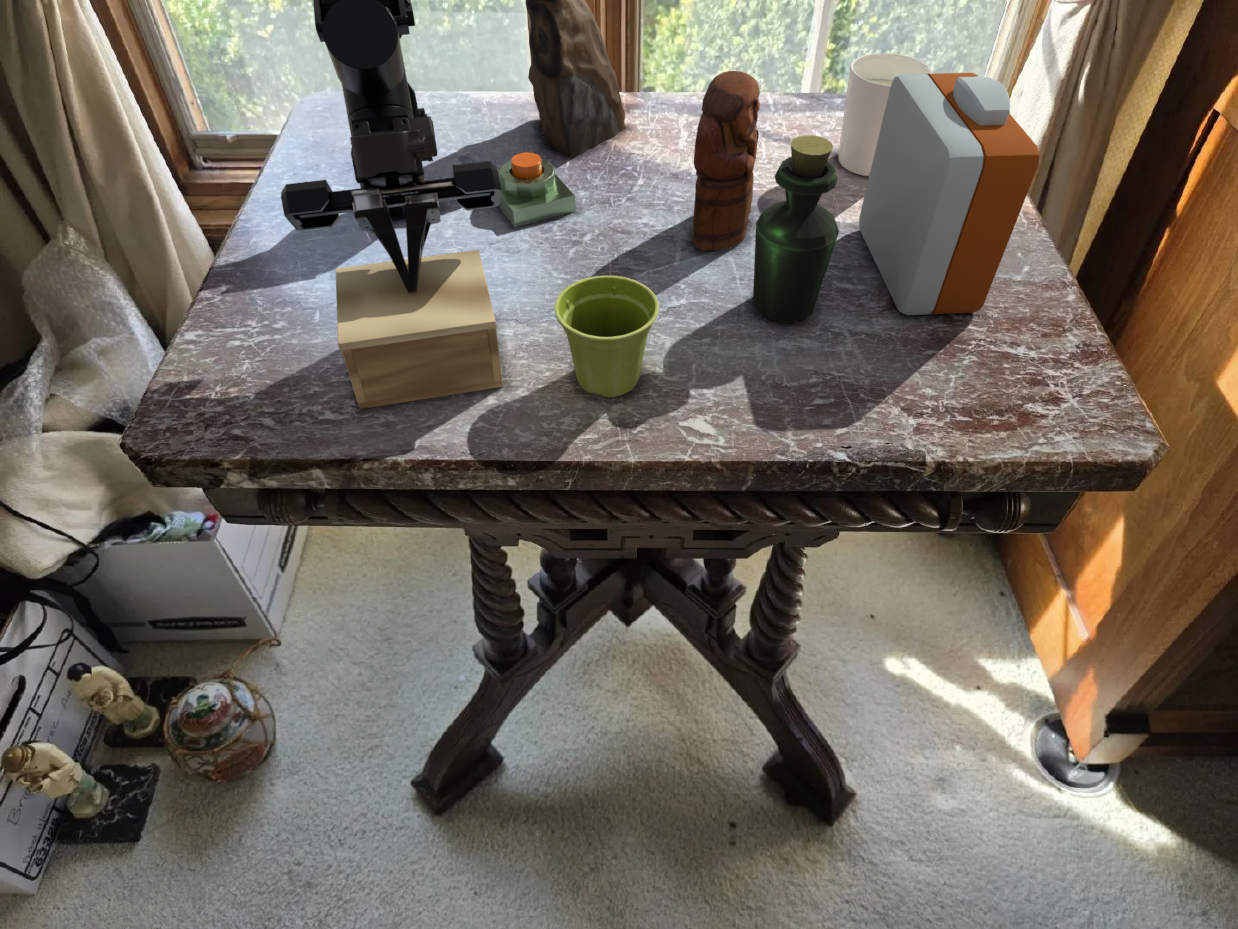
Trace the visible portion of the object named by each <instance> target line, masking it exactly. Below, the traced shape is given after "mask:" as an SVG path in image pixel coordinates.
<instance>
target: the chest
mask: <svg viewBox="0 0 1238 929" xmlns="http://www.w3.org/2000/svg"><path fill="white" fill-rule="evenodd" d="M498 342H499V341H498V335H497V327H496V328H494V329H487V330H480V331H473V332H466V333H460V334H453V335H446V336H439V337H432V338H425V339H419V340H412V341H405V342H398V343H391V344H384V345H378V346H371V347H364V348H357V349H350V350H343V351H341V353H342V356H343V360H344V363H345V366H346V370H347V373H348V376H349V380H350V384H351V386H352V389H353V392H354V396H355V399H356V402H357V406H358V408H359V410H363V409H364V410H365V409H370V408H371V409H372V408H377V407H382V406H383V407H384V406H390V405H395V404H402V403H409V402H414V401H421V400H428V399H434V398H440V397H445V396H446V397H447V396H452V395H459V394H465V393H472V392H478V391H484V390H491V389H496V388H497V389H498V388H503V387H504V381H503V380H504V379H503V373H502V366H501V358H500V351H499V343H498Z"/></svg>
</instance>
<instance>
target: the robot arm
mask: <svg viewBox="0 0 1238 929" xmlns="http://www.w3.org/2000/svg"><path fill="white" fill-rule="evenodd" d="M312 2H313V3H312V4H313V16H314V26H315V30H316V34H317V37H318V40H319V42H320V43H324V44H325V46H326V50H327V52H328V55H329V58H330V60H331V64H332V65H333V68H334V70H335V74H336V76H337V79H338V80H339V81H340V83H341V88H342V93H343V100H344V103H345V110H346V115H347V116H346V117H347V121H348V122H347V123H348V127H349V133H350V137H349V139H350V144H351V147H350V148H351V149H350V156H351V162H352V166H353V173H354V178H355V181H356V183H357V184H359V187H360V188H352V189H351V188H350V189H345V190H344V189H343V190H335V191H333V190H332V188H331V186H330V184H329V182H328V181H327V179H322V180H321V179H320V180H319V179H318V180H311V181H303V182H302V181H301V182H295V183H286V184H285V186H284V187H283V188H282V190H281V192H280V199H281V205H282V211H283V215H284V218H286V220H287V221H288V223H290V224H291V225H292V227H293V228H294V229H295V230H296V231H301V232H302V231H304V232H306V231H313V230H321V229H329V228H333V227H334V226H335V224H336V223H337V222H338V221H339V219H340V214H348V213H353V216H354V220H355V222H356V224H357V225H358V227H359V230H360V231H361V232H363V233H373V234H374V235H375V237H376V238H377V240H378V242H380V244H381V246H382V247H383V248H384V250H385V251H386V252H387V254H388V256H389V258H390V261H393V263H394V265H395V267H396V269H397V271H398V273H399V275H400V277H401V279H402V281H403V283H404V285H405V287H406V289H407V291H408V293H409V292H416V291H417V286H418V280H419V273H420V266H421V259H422V257H423V254H424V253H423V252H424V249H425V246H426V245H425V244H426V241H427V238H428V235H429V232H430V228H431V226H432V225H434V224H436V225H437V224H439V223H441V220H442V219H441V212H440V202H446V201H455V200H456V204H457V205H459V206H460V207H461V208H462V209H464V210H465V211H475V210H484V209H485V210H486V209H492V208H496V207H499V205H500V197H501V185H500V179H499V173H498V169H499V168H498V167H497V166H496V165H495V164H494V163H493V162H491V161H490V160H486V161H478V162H470V163H461V164H452V166H451V167H452V177H447V178H439V179H430V180H426V176H425V169H424V165H423V162H433V161H434V158H435V157H437V156H438V147H437V141H436V134H435V126H434V122H433V120H432V116H428V114H427V113H426V110H425V107H420V108H419V107H418V101H417V96H416V92H415V89H413V87H412V86H411V85H410V83H409V82H408V78H407V70H406V67H405V66H406V65H405V62H404V56H403V55H404V54H403V50H402V46H401V45H402V44H401V39H402V38H403V37H402V36H406V35H411V33H410V27H416V21H415V15H414V9H413V4H412V0H312ZM404 218H405V228H406V230H405V231H406V248H407V250H406V251H407V259H408V269H407V266H406V263H405V260H404V259H405V256H404V254H403V250H402V248H401V247H402V246H401V244H400V242H399V238H398V235H397V232H396V229H395V225H394V223H393V221H395V220H400V219H404ZM408 270H409V272H408Z"/></svg>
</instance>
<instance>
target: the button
mask: <svg viewBox="0 0 1238 929" xmlns="http://www.w3.org/2000/svg"><path fill="white" fill-rule="evenodd" d="M541 159H542V157H541V156H540V155H539V154H537V153H535V152H528V151H527V152H520V153H516V154H515V155H513V156H512V157H511V159H510V160H511V164H512V174H513V176H514V177H516V178H519V179H532V178H537V177H539V176H540V175H542V162H541Z"/></svg>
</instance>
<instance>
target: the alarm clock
mask: <svg viewBox="0 0 1238 929" xmlns="http://www.w3.org/2000/svg"><path fill="white" fill-rule="evenodd" d="M1040 157H1041V155H1040V152H1039V148H1038V145H1037V143H1036V142H1034V141H1033V139H1032V138H1031V137H1030V135H1029V134H1028V133H1027V132H1026V131H1025V130H1024V129H1023V127H1022V126H1021V125H1020V124H1019V122H1018V121H1017V120H1016V119H1015V118H1014V117H1013V116H1012V114H1011V100H1010V95H1009V93H1008V90H1007V89H1006V87H1005V86H1004V84H1002V83H1001V82H1000V81H998V80H997V79H995V78H992V77H989V76H979V75H978V74H976V73H974V72H950V73H948V72H946V73H944V72H943V73H941V72H939V73H932V74H900V75H898V76H896V77H894V79H893V82H892V84H891V88H890V92H889V96H888V100H887V104H886V108H885V112H884V116H883V120H882V125H881V129H880V133H879V138H878V142H877V146H876V150H875V154H874V159H873V163H872V167H871V171H870V175H869V176H868V180H867V183H866V187H865V192H864V195H863V199H862V203H861V204H862V205H861V209H860V212H859V218H858V225H859V231H860V233H861V235H862V238H863V240H864V242H865V245H866V246H867V248H868V250H869V252H870V254H871V257H872V258H873V261H874V263H875V265H876V267H877V269H878V272H879V273H880V276H881V277H882V279H883V282H884V283H885V286H886V288H887V290H888V292H889V294H890V296H891V299H892V301H893V302H894V305H895V307H896V309H897V311H898V312H899V313H901V314H903V315H905V316H918V315H946V314H968V313H976V312H978V311H980V310H981V309H982V308H983V307H984V305H985V302H986V299H987V297H988V294H989V292H990V289H991V287H992V285H993V282H994V279H995V277H996V275H997V272H998V269H999V267H1000V264H1001V262H1002V259H1003V256H1004V254H1005V252H1006V250H1007V247H1008V244H1009V241H1010V240H1011V237H1012V234H1013V231H1014V228H1015V226H1016V223H1017V221H1018V218H1019V216H1020V213H1021V211H1022V208H1023V206H1024V203H1025V202H1026V201H1025V200H1026V198H1027V195H1028V194H1029V191H1030V188H1031V185H1032V183H1033V180H1034V178H1035V175H1036V173H1037V170H1038V168H1039V164H1040Z"/></svg>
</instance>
